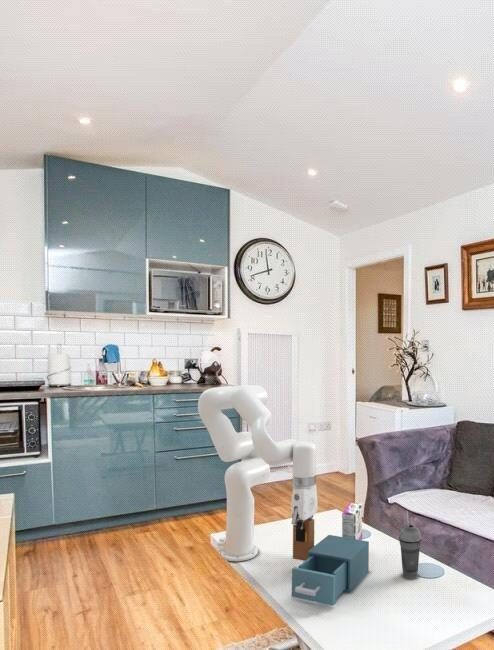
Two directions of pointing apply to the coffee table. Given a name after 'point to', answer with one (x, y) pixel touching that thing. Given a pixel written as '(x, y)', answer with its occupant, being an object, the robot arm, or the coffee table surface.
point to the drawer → (320, 579)
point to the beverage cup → (410, 550)
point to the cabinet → (345, 556)
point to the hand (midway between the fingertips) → (303, 538)
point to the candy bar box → (352, 521)
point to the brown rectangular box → (303, 547)
